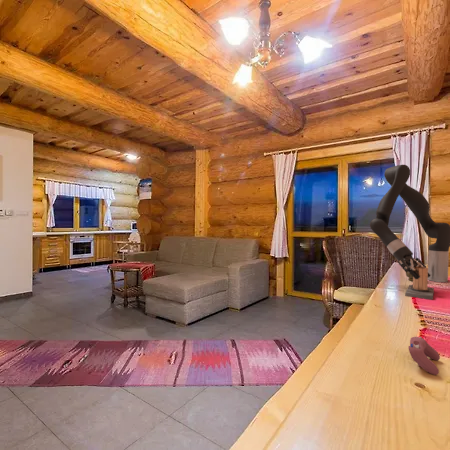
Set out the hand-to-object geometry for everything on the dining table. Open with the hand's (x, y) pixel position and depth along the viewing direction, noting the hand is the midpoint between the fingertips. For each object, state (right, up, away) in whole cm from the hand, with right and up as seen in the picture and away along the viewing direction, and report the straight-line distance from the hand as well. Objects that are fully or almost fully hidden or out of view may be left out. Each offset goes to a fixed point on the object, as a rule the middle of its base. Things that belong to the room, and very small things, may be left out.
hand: (423, 277), depth 132 cm
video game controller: (-45, -9, -65) cm, 79 cm away
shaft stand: (-1, -8, +1) cm, 8 cm away
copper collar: (-1, -6, +1) cm, 6 cm away
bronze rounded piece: (+14, -7, +29) cm, 33 cm away
